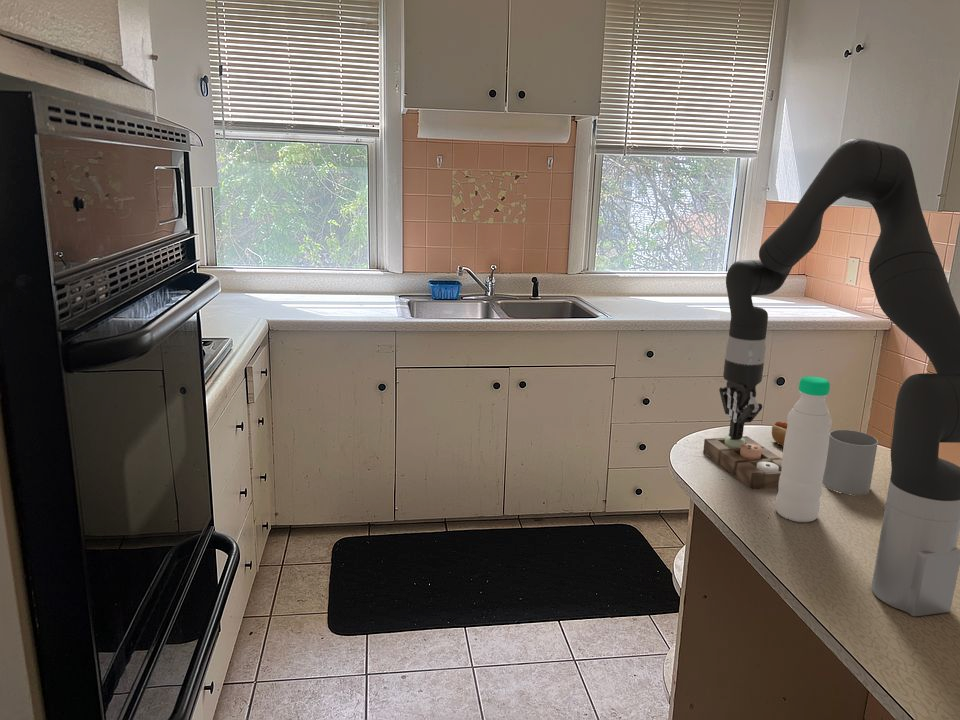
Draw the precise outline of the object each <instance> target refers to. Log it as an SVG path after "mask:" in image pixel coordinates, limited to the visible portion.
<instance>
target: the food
mask: <svg viewBox="0 0 960 720" xmlns="http://www.w3.org/2000/svg"><path fill="white" fill-rule="evenodd" d="M787 426H788V423H787V422H785V421H783V422H782V421H776V422H775V423H774V424H773V425H772V426H771V437H772V439H773V441H775V442H776V443H777V444H778V445H780V446H782V447H784V440H785V435H786V430H787Z"/></svg>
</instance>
